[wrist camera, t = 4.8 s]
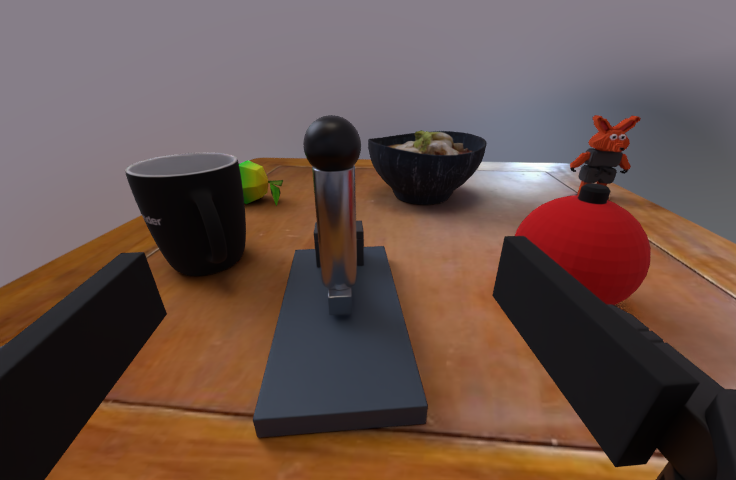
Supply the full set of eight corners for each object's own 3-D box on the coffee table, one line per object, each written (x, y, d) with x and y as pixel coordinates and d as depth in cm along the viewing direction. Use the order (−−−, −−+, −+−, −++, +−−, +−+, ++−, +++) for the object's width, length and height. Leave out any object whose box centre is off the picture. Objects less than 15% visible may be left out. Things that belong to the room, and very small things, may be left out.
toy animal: (573, 204, 47) (599, 118, 42) (559, 193, 52) (581, 114, 47) (632, 207, 46) (667, 119, 41) (613, 195, 51) (641, 115, 46)
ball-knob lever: (322, 248, 31) (311, 105, 25) (357, 247, 31) (354, 105, 25) (316, 316, 22) (297, 119, 16) (365, 313, 22) (363, 119, 17)
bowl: (350, 189, 54) (349, 127, 50) (431, 176, 61) (436, 121, 57) (406, 225, 41) (411, 145, 36) (501, 203, 48) (515, 134, 43)
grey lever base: (296, 262, 33) (291, 217, 30) (383, 258, 33) (384, 214, 31) (256, 438, 17) (238, 371, 14) (426, 424, 17) (434, 357, 15)
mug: (155, 255, 34) (121, 160, 29) (240, 233, 39) (223, 148, 34) (173, 315, 25) (129, 193, 21) (279, 277, 30) (263, 171, 26)
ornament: (595, 276, 30) (635, 172, 26) (649, 346, 22) (720, 213, 18) (495, 266, 32) (516, 166, 27) (512, 327, 24) (545, 202, 19)
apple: (217, 152, 46) (278, 151, 46) (237, 171, 52) (291, 171, 52) (210, 197, 44) (274, 197, 44) (231, 212, 51) (287, 213, 50)
